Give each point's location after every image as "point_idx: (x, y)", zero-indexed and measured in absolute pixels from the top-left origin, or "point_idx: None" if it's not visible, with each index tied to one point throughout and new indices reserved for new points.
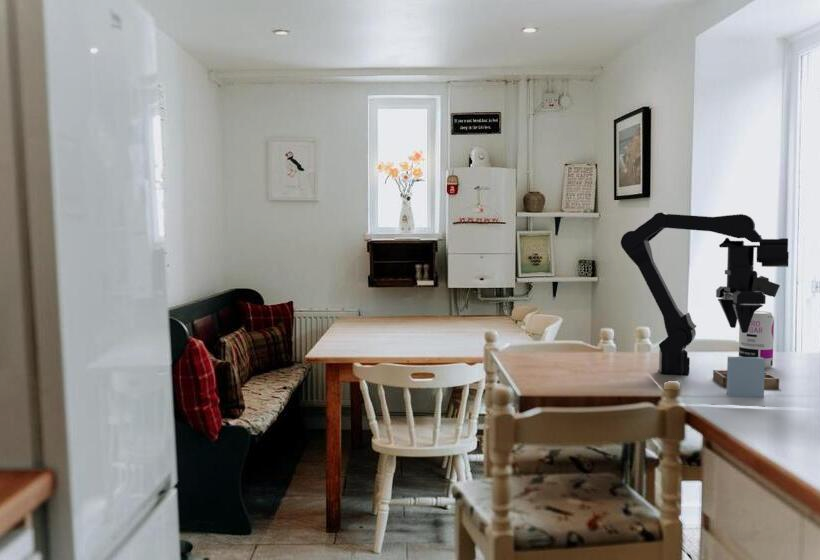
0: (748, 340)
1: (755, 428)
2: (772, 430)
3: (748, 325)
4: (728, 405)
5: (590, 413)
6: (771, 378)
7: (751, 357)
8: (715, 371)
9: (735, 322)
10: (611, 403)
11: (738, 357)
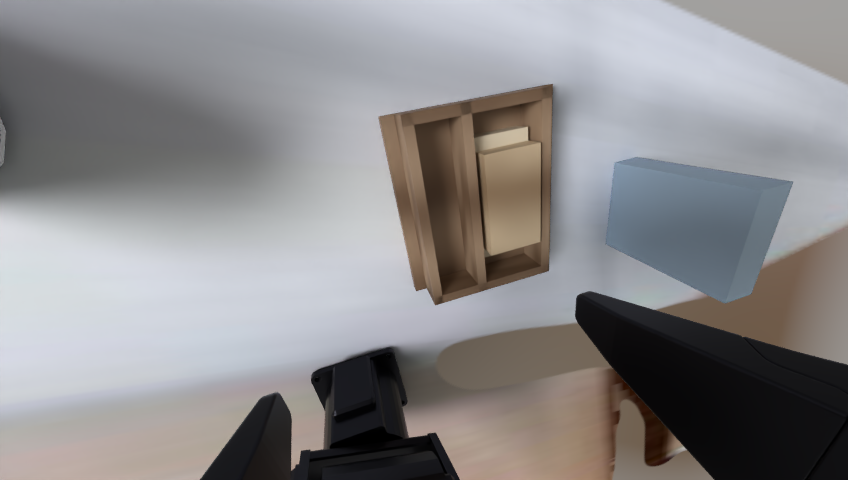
0: None
1: (817, 197)
2: (834, 169)
3: (657, 318)
4: None
5: None
6: (546, 116)
7: (756, 229)
8: (459, 297)
9: (267, 439)
10: None
11: (747, 271)
